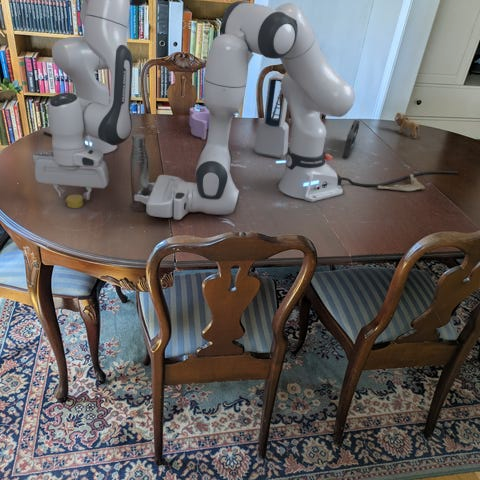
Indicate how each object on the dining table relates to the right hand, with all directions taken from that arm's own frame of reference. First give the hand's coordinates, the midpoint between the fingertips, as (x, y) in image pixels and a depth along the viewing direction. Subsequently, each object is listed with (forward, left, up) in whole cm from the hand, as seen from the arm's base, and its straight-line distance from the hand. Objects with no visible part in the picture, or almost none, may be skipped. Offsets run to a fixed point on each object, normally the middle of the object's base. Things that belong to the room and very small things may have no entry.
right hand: (137, 191), depth 138 cm
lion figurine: (-136, -40, -5) cm, 142 cm away
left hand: (+17, -6, -3) cm, 18 cm away
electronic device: (-59, -30, -5) cm, 67 cm away
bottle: (-1, 0, -5) cm, 5 cm away
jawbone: (-94, +5, -5) cm, 95 cm away
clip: (-41, -59, -5) cm, 72 cm away
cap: (+17, -6, -3) cm, 19 cm away
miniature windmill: (-78, -60, -5) cm, 98 cm away
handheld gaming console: (-96, -28, -5) cm, 100 cm away
